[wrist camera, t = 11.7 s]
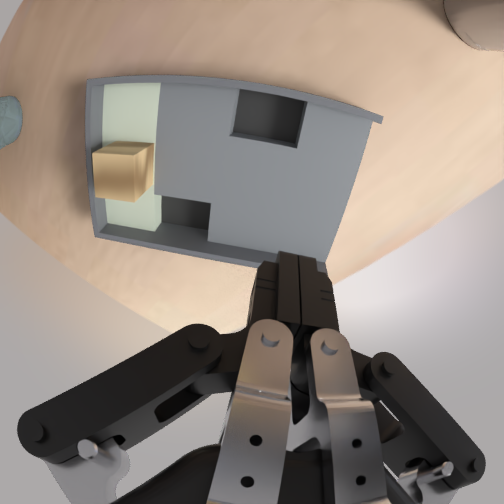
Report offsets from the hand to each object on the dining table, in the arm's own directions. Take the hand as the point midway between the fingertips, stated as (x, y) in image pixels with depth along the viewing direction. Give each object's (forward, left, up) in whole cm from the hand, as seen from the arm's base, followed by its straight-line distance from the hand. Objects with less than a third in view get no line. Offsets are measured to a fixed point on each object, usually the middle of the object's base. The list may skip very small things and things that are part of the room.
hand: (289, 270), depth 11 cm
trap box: (+3, -7, -22) cm, 23 cm away
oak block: (+3, -16, -19) cm, 25 cm away
